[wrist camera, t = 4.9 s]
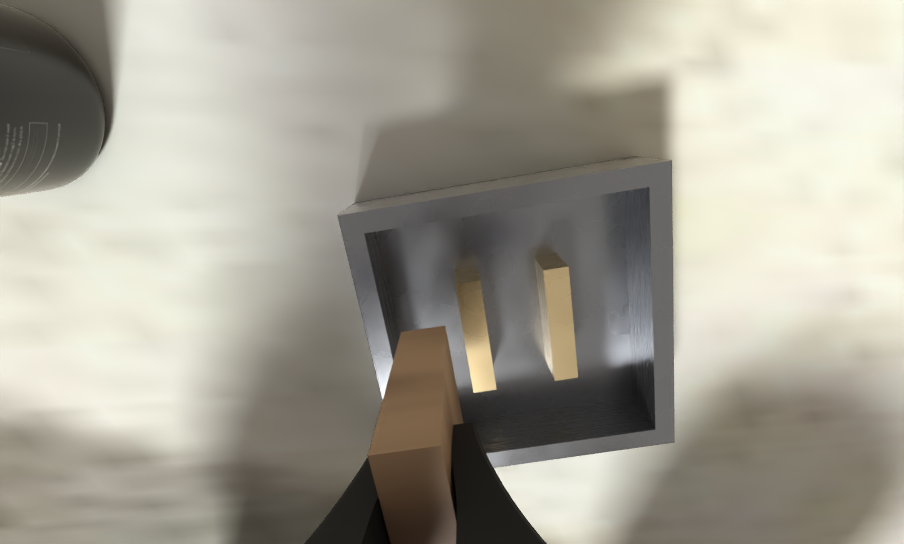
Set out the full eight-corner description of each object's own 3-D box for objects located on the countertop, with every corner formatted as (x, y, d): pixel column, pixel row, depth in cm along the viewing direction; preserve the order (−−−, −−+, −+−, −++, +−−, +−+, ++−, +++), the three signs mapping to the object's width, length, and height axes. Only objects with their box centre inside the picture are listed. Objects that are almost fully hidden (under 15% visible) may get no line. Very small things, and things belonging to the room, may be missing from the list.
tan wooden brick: (468, 450, 16) (477, 624, 10) (427, 456, 16) (413, 632, 10) (445, 325, 14) (440, 445, 9) (401, 332, 15) (367, 455, 9)
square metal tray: (644, 401, 22) (674, 442, 19) (407, 436, 22) (402, 480, 19) (636, 156, 18) (671, 160, 15) (354, 203, 19) (337, 215, 16)
